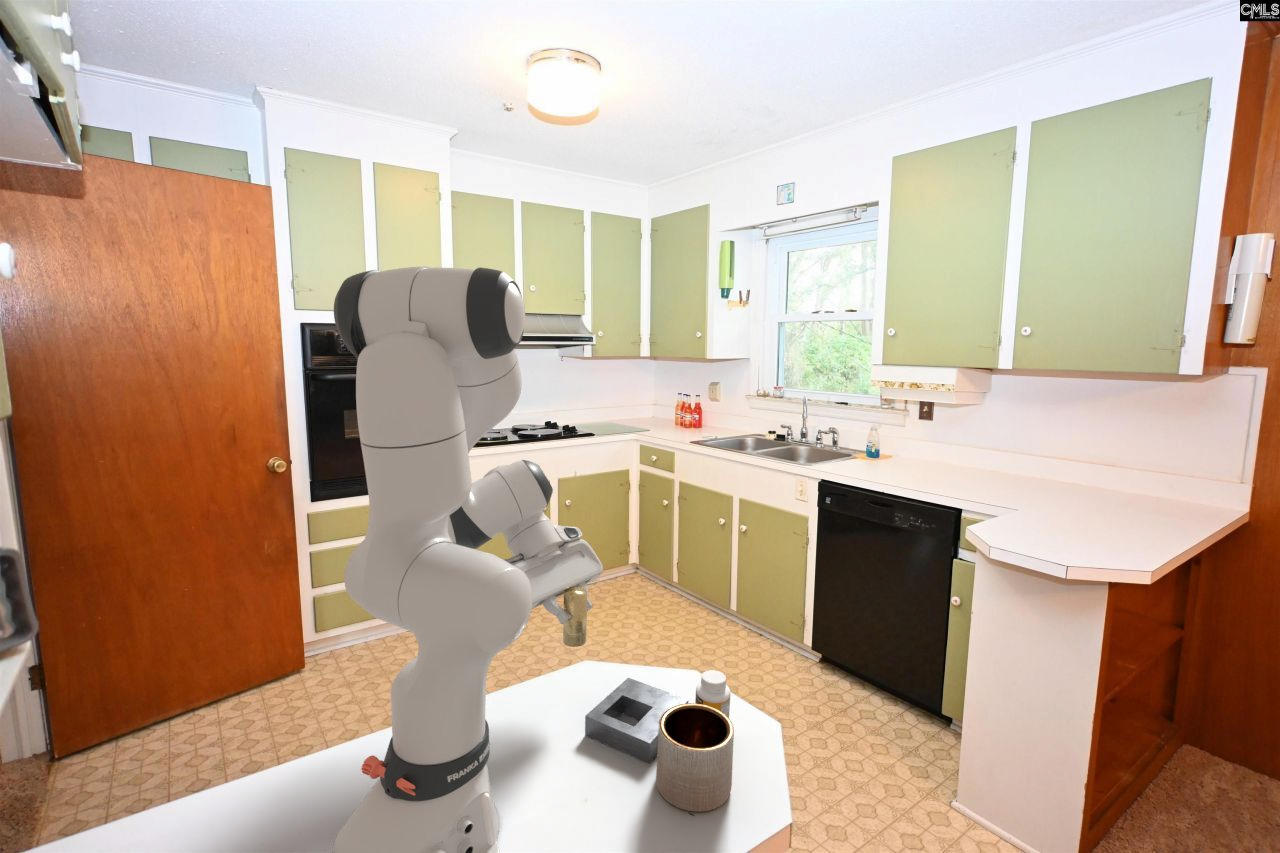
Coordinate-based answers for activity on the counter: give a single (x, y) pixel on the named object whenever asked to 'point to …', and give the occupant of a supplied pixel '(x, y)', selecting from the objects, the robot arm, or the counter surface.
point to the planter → (695, 757)
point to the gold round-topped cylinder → (575, 616)
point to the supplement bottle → (714, 691)
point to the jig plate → (637, 705)
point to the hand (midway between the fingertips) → (577, 615)
